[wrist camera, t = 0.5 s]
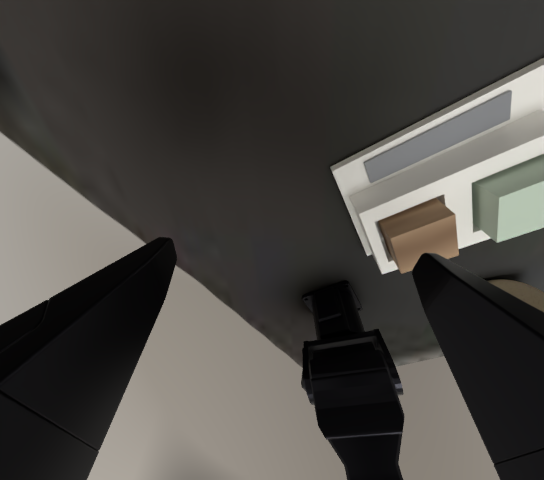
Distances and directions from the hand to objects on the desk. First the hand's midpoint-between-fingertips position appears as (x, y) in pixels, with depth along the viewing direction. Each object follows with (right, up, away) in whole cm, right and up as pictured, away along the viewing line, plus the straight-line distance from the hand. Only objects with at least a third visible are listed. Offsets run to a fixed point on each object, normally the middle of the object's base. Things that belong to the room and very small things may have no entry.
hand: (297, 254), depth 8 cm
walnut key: (+11, +2, +12) cm, 16 cm away
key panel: (+14, +6, +12) cm, 19 cm away
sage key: (+17, +5, +10) cm, 20 cm away
